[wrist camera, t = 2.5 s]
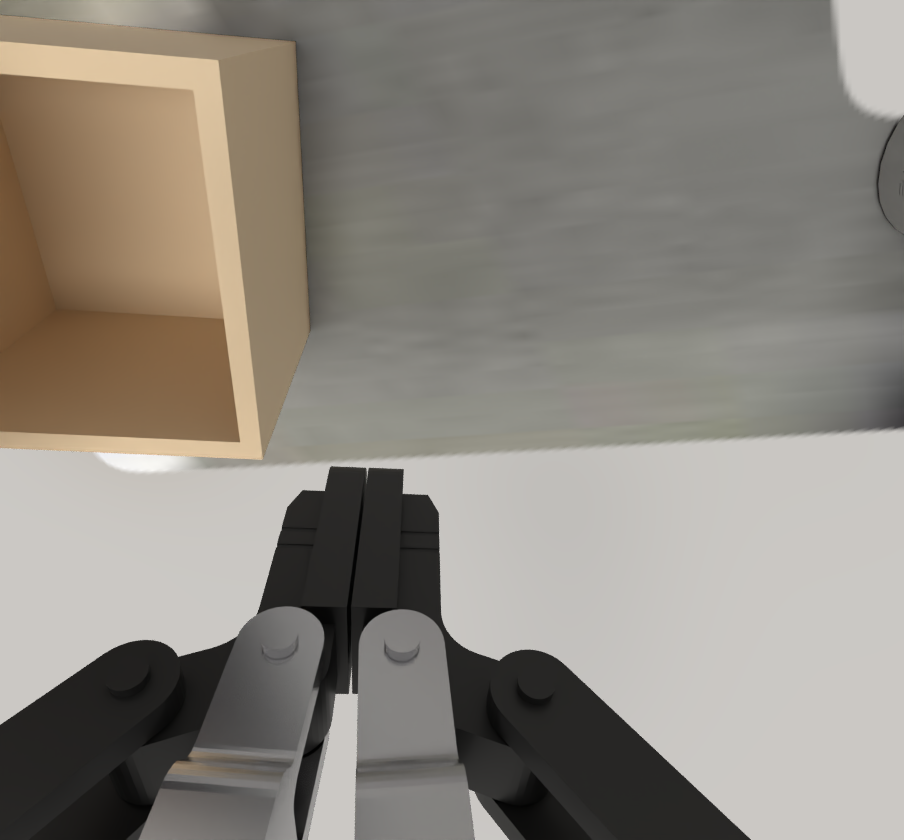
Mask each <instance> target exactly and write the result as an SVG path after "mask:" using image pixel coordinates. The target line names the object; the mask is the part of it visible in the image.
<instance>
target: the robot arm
mask: <svg viewBox="0 0 904 840" xmlns="http://www.w3.org/2000/svg"><path fill="white" fill-rule="evenodd" d="M878 186H879V197H880V203H881V206H882V208H883V211H884V214H885V216H886V218H887V219H888V220H889V222H890V223H891V224H892V225H893V227H894V228H895V229H896V230H898V231H899V232H901V233H902V234H904V116H903V117H902V118H901V120H900V121H899V123H898V125H897V127H896V129H895V131H894V132H893V134H892V136H891V138H890V140H889V142H888V144H887V147H886V150H885V153H884V156H883V159H882V162H881V167H880V175H879V182H878ZM403 471H404V470H403V469H384V468H369V470H368V477H367V471H366V468H356V467H333V466H332V467H330V470H329V474H328V479H327V483H326V488H325V491H307V490H303V491H302V492H301V493H300V494H299V495H298V496H297V497H296V498H295V499H294V501H293V502H292V503H291V504H290V505H289V506H288V507H287V511H286V514H285V518H284V521H283V525H282V531H281V532H280V536H279V539H278V543H277V548H276V550H275V553H274V557H273V561H272V564H271V568H270V571H269V575H268V579H267V582H266V586H265V589H264V593H263V596H262V600H261V604H260V607H259V610H258V613H257V615H256V616H254V617H253V618H252V619H250V620H249V621H248V622H247V623H246V624H245V625H244V626H243V628H242V629H241V630H240V632H239V634H238V636H237V637H236V638H234V639H232V640H230V641H229V642H227V643H225V644H222V645H220V646H217V647H214V648H211V649H207V650H203V651H199V652H195V653H191V654H187V655H184V656H180V657H178V656H177V654H176V653H175V652H174V650H173V649H172V648H170V647H169V646H168V645H166V644H164V643H161V642H158V641H153V640H152V641H151V640H140V641H133V642H129V643H126V644H123V645H120V646H118V647H116V648H113V649H111V650H110V651H108V652H107V653H105V654H103V655H102V656H100V657H99V658H97V659H96V660H95V661H93V662H92V663H90V664H89V665H87V666H86V667H84V668H83V669H81V670H80V671H79V672H77V673H76V674H74V675H73V676H71V677H70V678H68V679H67V680H65V681H64V682H62V683H61V684H60V685H58V686H56V687H55V688H54V689H52V690H51V691H49V692H48V693H46V694H45V695H44V696H42V697H41V698H39V699H37V700H36V701H35V702H33V703H32V704H30V705H29V706H28V707H26V708H24V709H23V710H21V711H20V712H19V713H17V714H16V715H14V716H13V717H11V718H10V719H8V720H7V721H5V722H4V723H2V724H1V725H0V840H308V835H309V830H310V825H311V820H312V816H313V811H314V807H315V802H316V797H317V792H318V788H319V782H320V778H321V773H322V769H323V764H324V759H325V754H326V750H327V745H328V740H329V729H330V726H331V722H332V716H333V708H334V701H335V694H349V686H350V677H351V668H352V693H353V694H358V719H357V721H358V722H357V768H356V794H355V795H356V798H355V840H475V838H474V829H473V821H472V813H471V805H470V797H469V789H470V790H472V791H475V793H476V796H477V798H478V800H479V801H480V803H481V804H482V806H483V807H484V808H485V810H486V811H487V812H488V813H489V815H490V816H491V817H492V818H493V820H494V821H495V822H496V823H497V825H498V826H499V827H500V828H501V830H502V831H503V832H504V834H505V835H506V836H507V837H508V839H509V840H751V839H750V838H749V837H747V836H746V835H745V834H744V833H743V832H742V831H741V830H740V829H739V828H738V827H737V826H736V825H735V824H733V823H732V822H731V821H730V820H729V819H728V818H727V817H726V816H725V815H724V814H723V813H722V812H721V811H720V810H718V808H717V807H715V806H714V805H713V804H712V803H711V802H710V801H709V800H708V799H707V798H706V797H705V796H704V795H703V794H702V793H701V792H699V791H698V790H697V789H696V788H695V787H694V786H693V785H692V784H691V783H690V782H689V781H688V780H687V779H686V778H685V777H684V776H682V775H681V774H680V773H679V772H678V771H677V770H676V769H675V768H674V767H673V766H672V765H671V764H669V762H667V760H665V759H664V758H663V757H662V756H661V755H660V754H659V753H658V752H657V751H656V750H655V749H654V748H653V747H651V745H649V744H648V743H647V742H646V741H645V740H644V739H643V738H642V737H641V736H640V735H639V734H638V733H637V732H636V731H635V730H633V729H632V728H631V727H630V726H629V725H628V724H627V723H626V722H625V721H624V720H623V719H622V718H621V717H620V716H619V715H617V714H616V713H615V712H614V711H613V710H612V709H611V708H610V707H609V706H608V705H607V704H606V703H605V702H604V701H603V700H601V699H600V698H599V697H598V696H597V695H596V694H595V693H594V692H593V691H592V690H591V689H590V688H589V687H588V686H587V685H585V683H583V682H582V681H581V680H580V679H579V678H578V677H577V676H576V675H575V674H574V673H573V672H572V671H571V670H570V669H569V668H567V667H566V666H565V665H564V664H563V663H562V662H561V661H559V660H558V659H556V658H554V657H553V656H551V655H549V654H546V653H544V652H541V651H536V650H520V651H515V652H512V653H510V654H508V655H506V656H505V657H503V658H502V659H501V660H500V661H498V660H495V659H491V658H489V657H486V656H483V655H479V654H477V653H474V652H472V651H469V650H468V649H466V648H464V647H462V646H461V645H460V644H458V643H457V642H456V641H455V640H454V639H453V638H452V637H451V636H450V634H449V633H448V632H447V630H446V628H445V626H444V624H443V621H442V617H441V594H440V554H439V513H438V511H437V509H436V508H435V506H434V504H433V503H432V501H431V499H430V498H429V496H428V495H414V494H413V495H412V494H403Z"/></svg>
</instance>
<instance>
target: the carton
mask: <svg viewBox="0 0 904 840" xmlns="http://www.w3.org/2000/svg"><path fill="white" fill-rule="evenodd" d="M309 333H310V314H309V295H308V275H307V256H306V236H305V217H304V197H303V178H302V158H301V139H300V119H299V99H298V80H297V60H296V41H285V40H274V39H263V38H252V37H241V36H230V35H219V34H207V33H196V32H185V31H174V30H163V29H152V28H141V27H130V26H118V25H107V24H96V23H85V22H74V21H63V20H52V19H41V18H29V17H18V16H7V15H0V448H12V449H34V450H35V449H36V450H57V451H80V452H103V453H125V454H148V455H171V456H194V457H216V458H239V459H262V460H263V457H264V455H265V452H266V449H267V447H268V444H269V441H270V439H271V436H272V433H273V430H274V428H275V425H276V422H277V420H278V417H279V414H280V411H281V409H282V406H283V403H284V401H285V398H286V395H287V393H288V390H289V387H290V384H291V382H292V379H293V376H294V374H295V371H296V368H297V366H298V363H299V360H300V357H301V355H302V352H303V349H304V347H305V344H306V341H307V338H308V336H309Z"/></svg>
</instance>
